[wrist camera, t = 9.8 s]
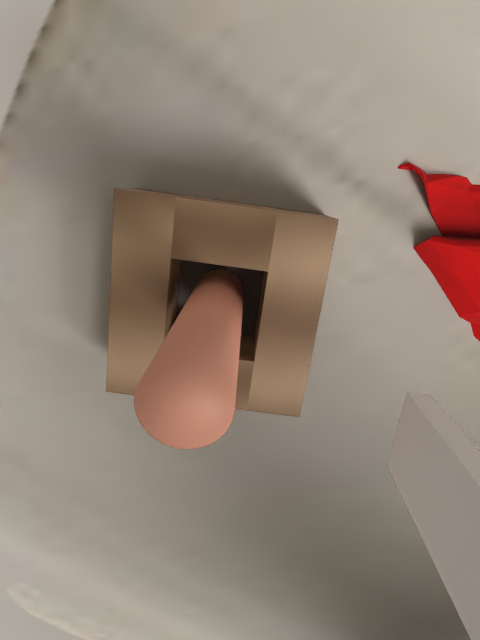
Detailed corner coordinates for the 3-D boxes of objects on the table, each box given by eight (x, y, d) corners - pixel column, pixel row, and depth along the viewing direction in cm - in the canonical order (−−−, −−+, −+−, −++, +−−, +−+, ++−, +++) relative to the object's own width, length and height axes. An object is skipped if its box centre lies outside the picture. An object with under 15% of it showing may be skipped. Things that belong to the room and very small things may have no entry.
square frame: (292, 385, 27) (299, 417, 24) (126, 363, 27) (106, 391, 23) (324, 215, 24) (338, 219, 20) (136, 188, 24) (114, 188, 20)
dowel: (240, 320, 26) (228, 454, 13) (193, 313, 26) (131, 442, 13) (247, 273, 25) (241, 366, 12) (198, 266, 25) (137, 352, 12)
